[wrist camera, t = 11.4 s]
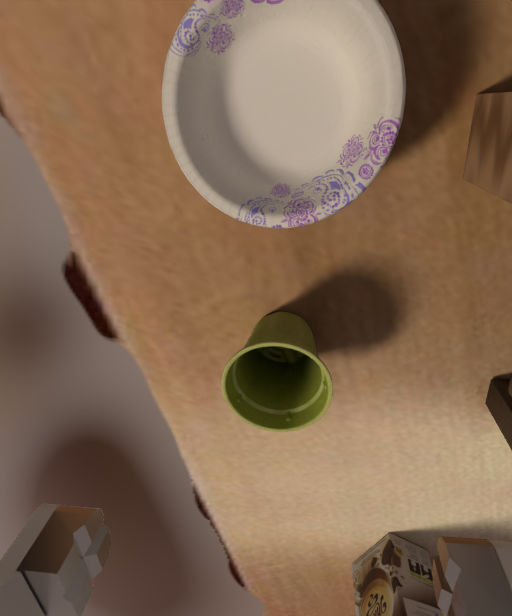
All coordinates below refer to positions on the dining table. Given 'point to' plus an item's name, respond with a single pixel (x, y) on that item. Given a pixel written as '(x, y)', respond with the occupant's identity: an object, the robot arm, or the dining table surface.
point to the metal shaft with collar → (501, 406)
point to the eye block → (491, 145)
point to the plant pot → (278, 376)
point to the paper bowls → (283, 104)
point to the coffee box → (394, 580)
